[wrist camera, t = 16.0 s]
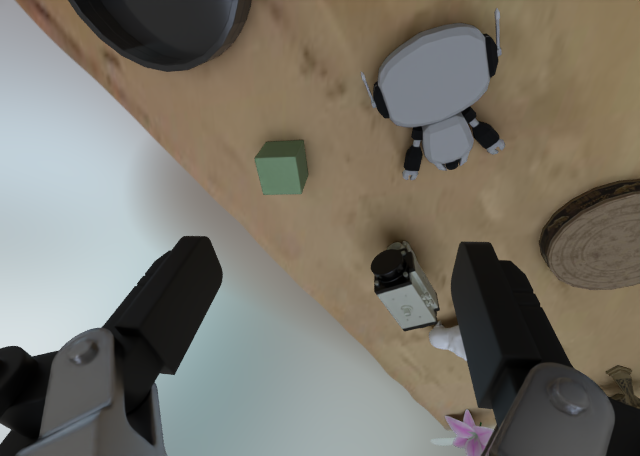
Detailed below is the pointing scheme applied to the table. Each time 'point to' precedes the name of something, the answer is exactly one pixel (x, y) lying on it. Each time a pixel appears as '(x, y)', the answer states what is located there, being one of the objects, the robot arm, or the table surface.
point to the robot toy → (439, 93)
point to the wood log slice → (596, 238)
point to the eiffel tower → (624, 386)
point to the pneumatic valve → (404, 287)
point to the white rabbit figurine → (447, 339)
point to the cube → (282, 167)
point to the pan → (166, 29)
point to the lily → (469, 434)
